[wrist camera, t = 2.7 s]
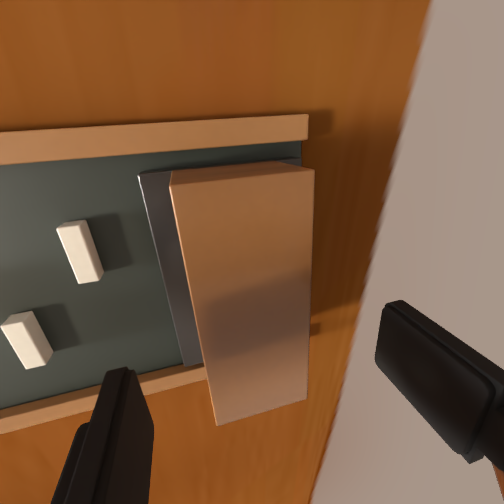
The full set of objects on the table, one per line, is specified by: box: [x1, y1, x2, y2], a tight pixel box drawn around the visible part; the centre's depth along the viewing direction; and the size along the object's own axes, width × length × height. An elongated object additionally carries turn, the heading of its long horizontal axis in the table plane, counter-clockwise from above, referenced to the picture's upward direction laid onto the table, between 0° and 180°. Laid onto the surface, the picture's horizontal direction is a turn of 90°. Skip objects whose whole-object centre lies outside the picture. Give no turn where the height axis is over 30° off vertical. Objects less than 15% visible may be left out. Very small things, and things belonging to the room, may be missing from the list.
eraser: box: [138, 157, 315, 426], centre depth 13 cm, size 12×8×6 cm, turn 5°
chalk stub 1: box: [1, 311, 53, 369], centre depth 14 cm, size 3×1×1 cm, turn 5°
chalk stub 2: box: [57, 220, 104, 284], centre depth 13 cm, size 3×1×1 cm, turn 4°
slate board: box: [0, 114, 308, 434], centre depth 14 cm, size 16×26×1 cm, turn 95°
